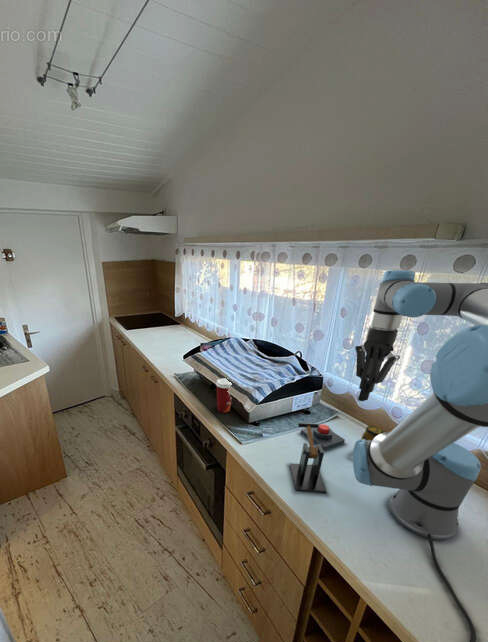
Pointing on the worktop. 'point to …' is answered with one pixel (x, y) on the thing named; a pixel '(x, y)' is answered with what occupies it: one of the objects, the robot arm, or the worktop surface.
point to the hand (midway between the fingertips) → (362, 399)
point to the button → (323, 429)
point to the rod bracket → (308, 472)
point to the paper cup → (223, 395)
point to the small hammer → (310, 438)
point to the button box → (324, 438)
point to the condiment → (372, 432)
